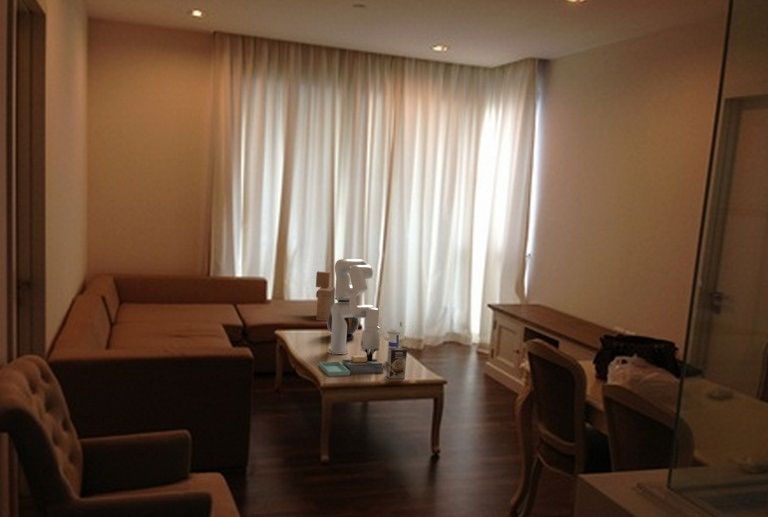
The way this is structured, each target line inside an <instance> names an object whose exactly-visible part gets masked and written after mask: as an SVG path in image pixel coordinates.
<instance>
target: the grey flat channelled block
mask: <svg viewBox="0 0 768 517" xmlns="http://www.w3.org/2000/svg"><path fill="white" fill-rule="evenodd" d="M341 364H342V365H344V366H345V367H346V368H347V369H348V370H349V371H350V375H356V373H361V374H375V373H374V372H383V373H384V365H383V362H379V361H378V358H372V361H368V360H367V363H351V358H350V359H343V360H342V361H341Z"/></svg>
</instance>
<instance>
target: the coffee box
mask: <svg viewBox="0 0 768 517" xmlns="http://www.w3.org/2000/svg"><path fill="white" fill-rule="evenodd" d="M407 355H408V350H407V349H406V348H405V347H399V348H389V352H388V363H386V364H387V365H386V376H387V378H389V379H405V378H406V367H407V366H406V365H407Z"/></svg>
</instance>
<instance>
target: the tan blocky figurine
mask: <svg viewBox="0 0 768 517" xmlns="http://www.w3.org/2000/svg"><path fill="white" fill-rule="evenodd" d="M315 278H316V279H315V288H318V290H316V293H315V294H316V300H317V302H316V318H315V320H316V321H322V322H323V321H324V322H325V321H326V322H327V320H328V316H329V314H330V312H331V307H332V305H333V304H334V303H335V286H330V278H331V272H330V271H329V272H328V271H317V272H316V277H315Z"/></svg>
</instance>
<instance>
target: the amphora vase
mask: <svg viewBox="0 0 768 517" xmlns="http://www.w3.org/2000/svg"><path fill="white" fill-rule="evenodd" d="M334 300H336V301H337V302H349V301H350V300H337V299H336V297H335V296H334ZM344 320H345V321H346V323H347V337H346V341H350V340H353V339H354V338H355V335H354V334H355V333H356V332H357V330H358V328H359V323H360V322H359V318H354V317H346V318H344ZM326 326H327V329H328V331H329V332H330V335H329V336H330V338H331V332H332V313H331V312H330V314H329V316H328V320H327V321H326Z"/></svg>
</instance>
